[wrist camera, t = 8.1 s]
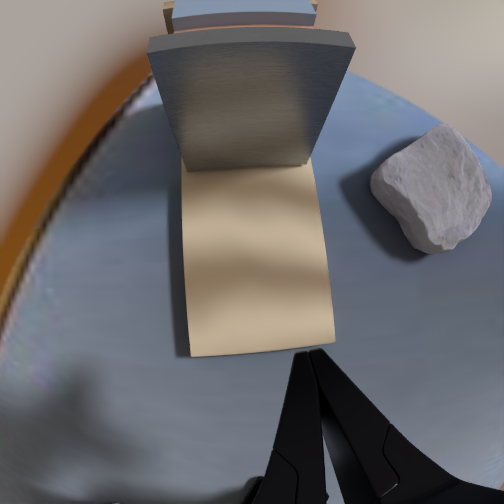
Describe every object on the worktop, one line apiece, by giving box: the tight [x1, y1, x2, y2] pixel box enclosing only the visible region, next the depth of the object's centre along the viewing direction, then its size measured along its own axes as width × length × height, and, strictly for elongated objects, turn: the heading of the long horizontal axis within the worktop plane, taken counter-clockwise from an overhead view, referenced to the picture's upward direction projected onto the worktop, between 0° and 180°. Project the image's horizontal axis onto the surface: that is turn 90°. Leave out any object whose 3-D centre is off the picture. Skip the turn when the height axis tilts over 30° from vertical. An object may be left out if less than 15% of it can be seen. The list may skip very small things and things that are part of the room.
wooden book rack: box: [163, 0, 335, 357], centre depth 17 cm, size 22×10×11 cm, turn 5°
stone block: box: [370, 123, 492, 254], centre depth 23 cm, size 12×5×10 cm
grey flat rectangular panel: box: [147, 27, 356, 172], centre depth 16 cm, size 1×9×12 cm, turn 96°
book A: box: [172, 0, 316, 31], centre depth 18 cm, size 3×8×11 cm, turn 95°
